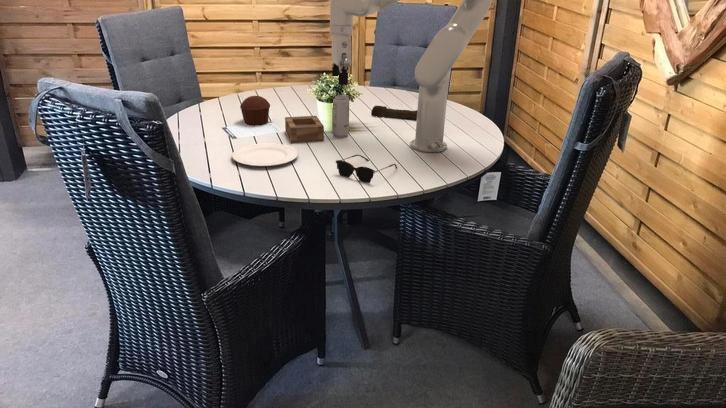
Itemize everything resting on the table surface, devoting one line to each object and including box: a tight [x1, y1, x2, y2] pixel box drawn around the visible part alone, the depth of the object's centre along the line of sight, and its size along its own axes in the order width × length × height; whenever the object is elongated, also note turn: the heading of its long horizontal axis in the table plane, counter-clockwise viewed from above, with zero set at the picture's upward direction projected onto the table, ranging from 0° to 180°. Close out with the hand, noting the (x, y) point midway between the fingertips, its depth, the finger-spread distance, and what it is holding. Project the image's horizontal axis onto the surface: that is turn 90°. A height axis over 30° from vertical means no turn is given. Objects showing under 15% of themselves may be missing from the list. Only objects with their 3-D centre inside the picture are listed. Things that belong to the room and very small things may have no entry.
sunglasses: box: [335, 154, 398, 184], centre depth 164 cm, size 14×16×5 cm
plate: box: [231, 142, 299, 168], centre depth 172 cm, size 21×21×2 cm
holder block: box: [284, 115, 325, 144], centre depth 192 cm, size 14×12×6 cm
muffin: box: [239, 95, 271, 127], centre depth 205 cm, size 12×11×10 cm
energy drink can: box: [331, 95, 350, 139], centre depth 192 cm, size 6×6×15 cm
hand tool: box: [370, 105, 417, 122], centre depth 218 cm, size 19×4×5 cm, turn 75°
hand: (339, 81), depth 187 cm, fingers open, 9 cm apart
